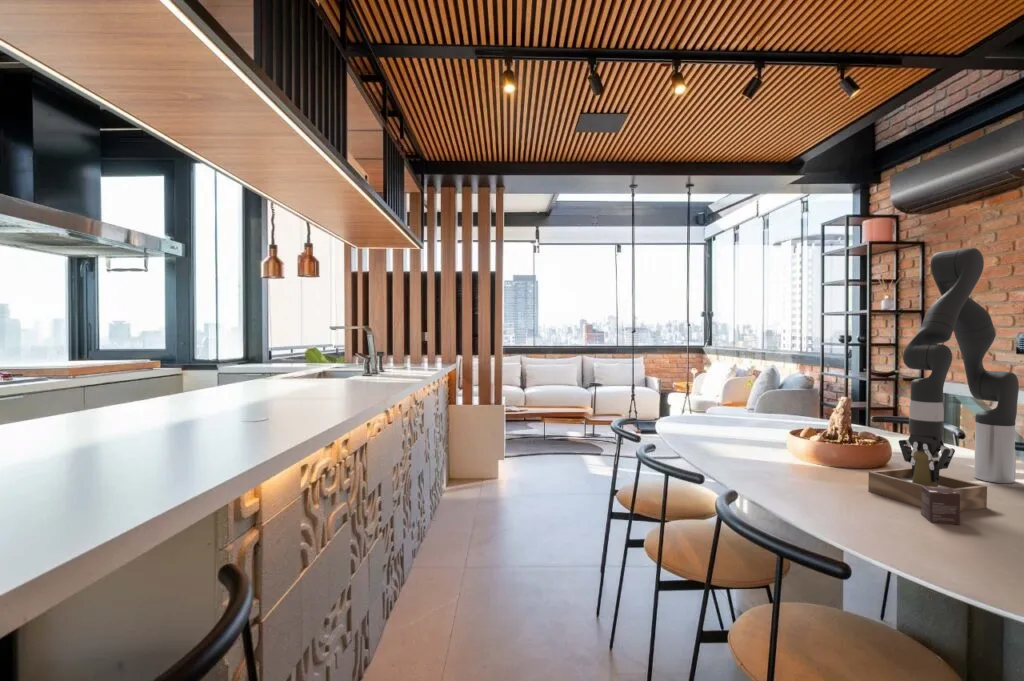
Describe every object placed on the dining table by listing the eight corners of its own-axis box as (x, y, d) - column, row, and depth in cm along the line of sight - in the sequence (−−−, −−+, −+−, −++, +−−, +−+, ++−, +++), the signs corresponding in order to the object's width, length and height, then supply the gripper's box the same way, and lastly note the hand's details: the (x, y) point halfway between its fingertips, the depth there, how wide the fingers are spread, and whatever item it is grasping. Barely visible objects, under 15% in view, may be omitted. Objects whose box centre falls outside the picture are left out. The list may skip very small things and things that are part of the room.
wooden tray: (910, 486, 161) (910, 467, 161) (986, 507, 142) (987, 486, 142) (868, 491, 156) (868, 471, 156) (941, 513, 137) (942, 491, 137)
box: (949, 517, 135) (950, 487, 135) (960, 525, 129) (961, 494, 129) (920, 514, 137) (920, 485, 137) (929, 522, 131) (930, 491, 131)
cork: (943, 495, 146) (944, 453, 145) (917, 493, 147) (918, 452, 147) (931, 488, 152) (931, 448, 151) (906, 487, 153) (907, 447, 153)
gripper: (964, 421, 143) (963, 487, 144) (910, 413, 157) (909, 473, 157) (943, 422, 141) (942, 489, 141) (890, 414, 155) (889, 475, 155)
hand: (925, 480), depth 149 cm, fingers closed on cork, 3 cm apart
